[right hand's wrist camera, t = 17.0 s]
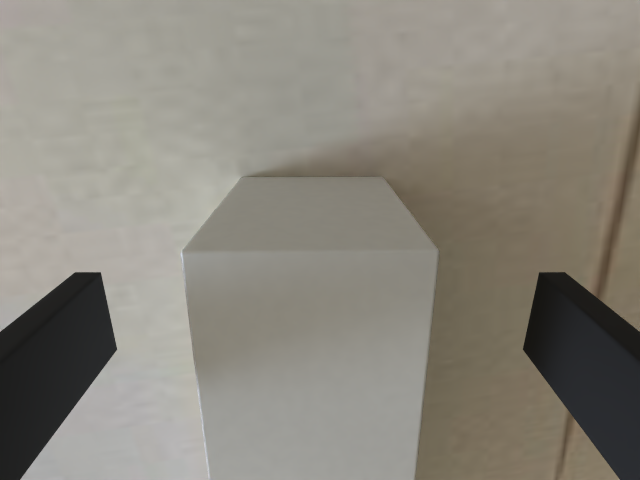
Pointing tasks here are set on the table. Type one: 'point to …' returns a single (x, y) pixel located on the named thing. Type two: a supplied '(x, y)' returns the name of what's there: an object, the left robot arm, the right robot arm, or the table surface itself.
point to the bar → (311, 329)
